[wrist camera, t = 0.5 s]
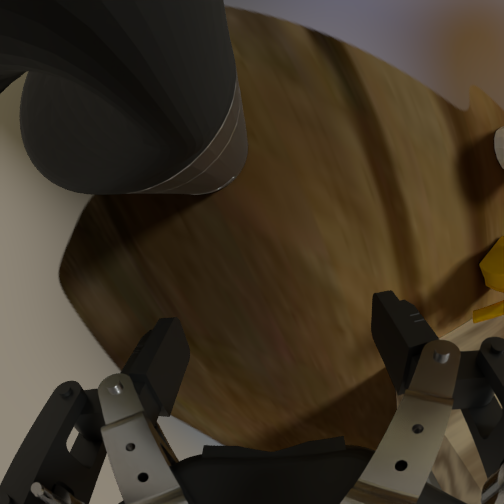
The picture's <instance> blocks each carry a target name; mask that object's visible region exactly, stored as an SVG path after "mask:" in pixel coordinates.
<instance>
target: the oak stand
mask: <svg viewBox="0 0 504 504" xmlns="http://www.w3.org/2000/svg"><path fill="white" fill-rule="evenodd" d="M489 337H500V338H503V339H504V315H502V316H499V317H496V318H493V319H489V320H485V321H482V322H478V323H473V319H471V320H469V321H468V322H466V323H465V324H463V325H461V326H460V327H458V328H456V329H455V330H453V331H451V332H450V333H448V334H446V335H444V336H443V337H441V338H439V339H440V340H447V341H450V342H452V343H454V344H455V345H456V346H457V347H458V348H459V350H460V351H474V350H479V349H480V346H481V343H482V342H483V341H484V340H485V339H486V338H489ZM403 395H404V394H403ZM403 395H399V396H398V395H397V392H396V400H397V409H398V406H399V404H400V402H401V400H402V398H403ZM494 395H495V394H494ZM495 397H496V399H497V401H498V403H499V404H500V402H499V400H498V398H497V396H496V395H495ZM500 406H501V404H500ZM501 408H502V406H501ZM431 470H432V472H433V474H434V476H435V478H436V480H437V481H438V483H439V485H440V487H441V489H442V491H444V492H446V493H448V494H450V495H451V496H453V497H455V498H457V499H459V500H461V501H463V502H465V503H467V504H481V498H482V496H481V493H482V488H483V485H484V484H485V482H486V480H487V476H486V473H485V470H484V467H483V464H482V461H481V458H480V456H479V453H478V450H477V448H476V445H475V443H474V440H473V438H472V435H471V433H470V430H469V428H468V425H467V423H466V421H465V419H464V416H463V414H462V412H461V410H460V409H455V410H451V414H450V417H449V421H448V424H447V427H446V431H445V434H444V437H443V440H442V443H441V446H440V448H439V451H438V454H437V457H436V459H435V462H434V464H433V467H432V469H431Z"/></svg>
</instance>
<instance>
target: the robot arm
mask: <svg viewBox="0 0 504 504" xmlns="http://www.w3.org/2000/svg"><path fill="white" fill-rule="evenodd" d="M26 71H29V72H28V74H27V77H26V80H25V84H24V87H23V91H22V97H21V104H20V129H21V135H22V140H23V143H24V147H25V149H26V152H27V154H28V156H29V158H30V160H31V161H32V163H33V164H34V166H35V167H36V168H37V170H39V171H40V173H41V174H42V175H43V176H44V177H46V178H47V179H48V180H50V181H51V182H52V183H54V184H56V185H58V186H60V187H62V188H65V189H67V190H70V191H74V192H77V193H84V194H99V195H105V194H152V193H161V194H191V195H201V194H208V193H212V192H215V191H218V190H220V189H222V188H224V187H226V186H227V185H228V184H230V183H231V182H232V181H233V180H234V179H235V178H236V177H237V176H238V175H239V173H240V172H241V170H242V168H243V166H244V164H245V161H246V158H247V152H248V142H247V133H246V126H245V120H244V113H243V107H242V100H241V94H240V89H239V83H238V77H237V71H236V65H235V59H234V54H233V50H232V45H231V41H230V37H229V31H228V26H227V20H226V14H225V8H224V2H223V0H0V93H1V92H3V91H4V90H5V88H7V87H8V86H9V85H10V84H11V83H12V82H13V81H15V80H16V79H17V78H19V77H20V76H21V75H23V74H24V73H25V72H26ZM371 331H372V336H373V340H374V342H375V344H376V346H377V348H378V351H379V353H380V355H381V357H382V359H383V362H384V364H385V366H386V369H387V371H388V373H389V375H390V378H391V380H392V383H393V385H394V387H395V390H396V392H397V395H398V396H399V395H403V394H404V395H403V398H402V400H401V402H400V404H399V406H398V409H397V411H396V413H395V415H394V417H393V419H392V421H391V423H390V425H389V427H388V429H387V431H386V433H385V435H384V437H383V439H382V441H381V442H380V444H379V446H378V448H377V450H376V451H374V450H371V449H369V448H365V447H361V446H354V445H345V441H344V436H341V437H335V438H329V439H322V440H315V441H308V442H305V443H302V444H299V445H296V446H293V447H289V448H286V449H282V450H279V451H275V452H267V451H261V450H255V449H250V448H244V447H239V446H208V445H204V448H203V453H202V454H201V455H196V456H192V457H189V458H186V459H184V460H182V461H179V460H178V459H177V457H176V456H175V454H174V452H173V450H172V449H171V447H170V445H169V443H168V441H167V439H166V438H165V436H164V434H163V432H162V430H161V428H160V426H159V424H158V423H157V419H158V416H167V417H169V416H170V414H171V411H172V408H173V405H174V402H175V399H176V396H177V393H178V391H179V388H180V385H181V382H182V379H183V376H184V373H185V371H186V368H187V365H188V362H189V359H190V349H189V345H188V343H187V340H186V337H185V334H184V331H183V328H182V326H181V323H180V320H179V319H178V318H177V317H174V318H161V319H159V320H158V322H157V324H156V325H155V327H154V329H153V330H150V331H149V332H148V333H146V334H145V335H144V336H143V337H142V338H141V340H140V341H139V343H138V345H137V347H136V348H135V349H134V351H133V352H134V353H132V354H131V356H130V358H129V359H128V361H127V363H126V365H125V366H124V368H123V370H122V371H121V373H118V374H113V375H111V376H108V377H107V378H105V379H104V380H103V381H102V382H101V383H100V385H99V387H98V389H91V390H83V389H82V387H81V386H80V384H79V383H78V382H76V381H67V382H65V383H62V384H61V385H59V386H58V387H57V388H56V389H55V390H54V392H53V394H52V395H51V396H50V398H49V400H48V401H47V403H46V404H45V406H44V407H43V409H42V411H41V412H40V414H39V416H38V417H37V419H36V421H35V422H34V424H33V425H32V427H31V429H30V430H29V432H28V434H27V436H26V438H25V439H24V441H23V443H22V444H21V446H20V448H19V450H18V452H17V454H16V455H15V457H14V459H13V461H12V463H11V465H10V467H9V469H8V471H7V473H6V475H5V476H4V479H3V481H2V483H1V485H0V504H89V502H90V498H91V495H92V493H93V490H94V487H95V484H96V481H97V478H98V475H99V473H100V470H101V467H102V465H103V462H104V459H105V457H106V454H108V457H109V461H110V464H111V467H112V470H113V473H114V476H115V479H116V482H117V484H118V487H119V490H120V492H121V495H122V497H123V501H122V502H120V503H119V504H467V503H465V502H463V501H461V500H459V499H457V498H455V497H453V496H451V495H450V494H448V493H446V492H444V491H442V490H440V489H439V488H437V487H435V486H433V485H431V484H430V483H428V482H426V481H427V479H428V476H429V474H430V472H431V469H432V467H433V464H434V462H435V459H436V457H437V454H438V451H439V448H440V446H441V443H442V440H443V437H444V434H445V431H446V427H447V424H448V421H449V417H450V414H451V410H455V409H460V410H461V412H462V414H463V416H464V419H465V421H466V423H467V425H468V428H469V430H470V433H471V435H472V438H473V440H474V443H475V445H476V448H477V450H478V453H479V456H480V458H481V461H482V464H483V467H484V470H485V473H486V476H487V480H486V482H485V484H484V485H483V488H482V493H481V496H482V498H481V504H504V339H503V338H500V337H489V338H486V339H485V340H484V341H483V342H482V343H481V346H480V349H479V350H474V351H460V350H459V348H458V347H457V346H456V345H455V344H454V343H452V342H450V341H447V340H440V339H439V338H438V337H437V335H436V334H435V333H434V331H433V330H432V328H431V327H430V326H429V324H428V323H427V322H426V320H424V318H423V316H422V315H421V314H420V313H419V311H418V310H417V309H416V307H415V306H414V305H413V304H411V303H409V302H407V301H406V300H401V301H399V299H398V298H397V297H396V295H395V294H394V293H393V291H391V290H390V291H384V292H379V293H374V294H373V299H372V320H371ZM494 394H495V395H496V396H497V398H498V400H499V402H500V404H501V406H502V408H501V406H500V404H499V403H498V401H497V399H496V397H495V395H494ZM73 427H75V428H76V429H77V431H78V432H79V434H78V436H77V438H76V440H75V443H74V445H73V447H72V449H71V451H70V453H69V451H68V450H67V446H66V442H67V439H68V437H69V435H70V433H71V431H72V429H73Z"/></svg>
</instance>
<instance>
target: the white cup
mask: <svg viewBox="0 0 504 504" xmlns="http://www.w3.org/2000/svg"><path fill="white" fill-rule="evenodd" d="M494 149H495V153H496V156H497V160H498V161H499V163H500V165H501V167H502V168H503V169H504V126H503V127H500V128H499V129H498V130H497V131H496V133H495V137H494Z"/></svg>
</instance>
